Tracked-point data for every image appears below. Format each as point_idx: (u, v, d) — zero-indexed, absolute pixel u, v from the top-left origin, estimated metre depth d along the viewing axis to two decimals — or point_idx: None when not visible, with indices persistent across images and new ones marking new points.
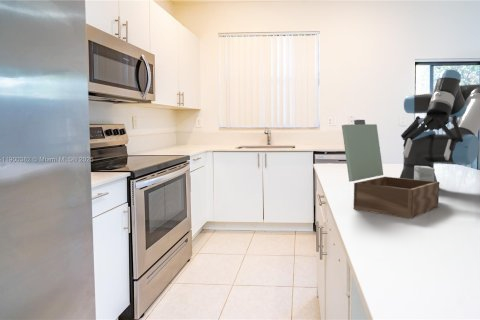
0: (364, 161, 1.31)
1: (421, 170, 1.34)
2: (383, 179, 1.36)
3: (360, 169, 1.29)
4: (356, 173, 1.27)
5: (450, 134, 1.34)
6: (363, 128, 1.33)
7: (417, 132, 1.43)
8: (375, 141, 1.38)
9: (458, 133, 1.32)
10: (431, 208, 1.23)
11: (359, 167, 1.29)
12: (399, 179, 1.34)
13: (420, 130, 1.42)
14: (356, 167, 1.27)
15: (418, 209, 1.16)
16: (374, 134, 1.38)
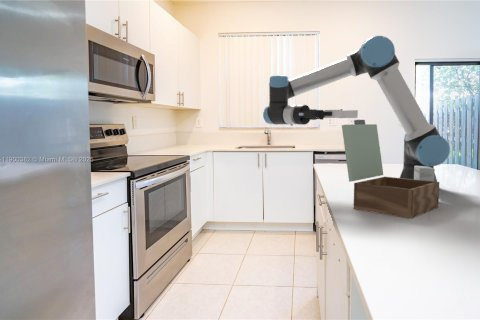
0: (364, 161, 1.31)
1: (421, 170, 1.34)
2: (383, 179, 1.36)
3: (360, 169, 1.29)
4: (356, 173, 1.27)
5: (319, 117, 1.41)
6: (363, 128, 1.33)
7: None
8: (375, 141, 1.38)
9: (314, 117, 1.39)
10: (431, 208, 1.23)
11: (359, 167, 1.29)
12: (399, 179, 1.34)
13: None
14: (356, 167, 1.27)
15: (418, 209, 1.16)
16: (374, 134, 1.38)
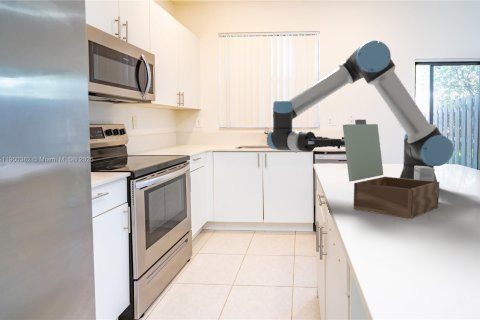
0: (364, 161, 1.31)
1: (421, 170, 1.34)
2: (383, 179, 1.36)
3: (360, 169, 1.29)
4: (356, 173, 1.27)
5: None
6: (364, 128, 1.33)
7: None
8: (376, 141, 1.38)
9: (330, 146, 1.37)
10: (431, 208, 1.23)
11: (359, 167, 1.29)
12: (399, 179, 1.34)
13: None
14: (356, 167, 1.27)
15: (418, 209, 1.16)
16: (375, 134, 1.38)
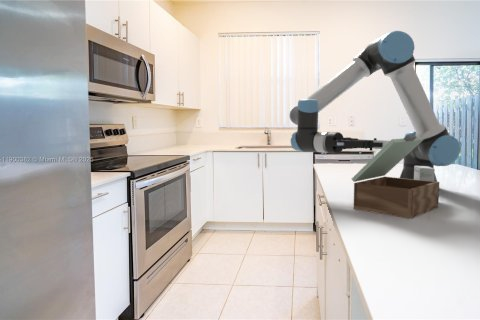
0: (379, 167, 1.28)
1: (421, 170, 1.34)
2: (383, 179, 1.36)
3: (369, 173, 1.27)
4: (363, 176, 1.25)
5: None
6: (407, 144, 1.23)
7: None
8: (406, 152, 1.31)
9: None
10: (431, 208, 1.23)
11: (370, 172, 1.26)
12: (399, 179, 1.34)
13: None
14: (367, 172, 1.25)
15: (418, 209, 1.16)
16: (411, 147, 1.29)
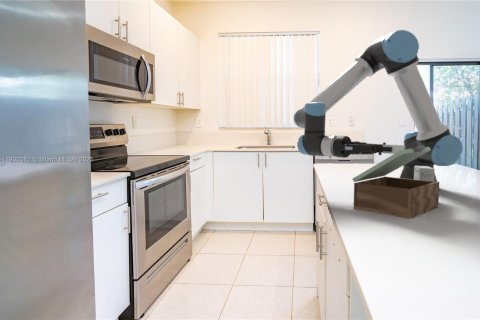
0: (382, 171, 1.27)
1: (421, 170, 1.34)
2: (383, 179, 1.36)
3: (371, 175, 1.26)
4: (364, 178, 1.25)
5: None
6: (415, 153, 1.22)
7: None
8: (412, 159, 1.30)
9: (370, 152, 1.27)
10: (431, 208, 1.23)
11: (372, 174, 1.26)
12: (399, 179, 1.34)
13: None
14: (369, 175, 1.24)
15: (418, 209, 1.16)
16: (418, 155, 1.28)
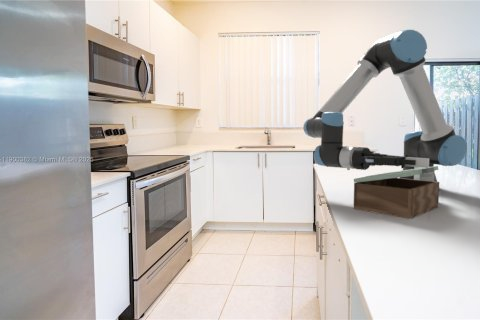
0: None
1: None
2: (383, 179, 1.36)
3: None
4: None
5: None
6: None
7: None
8: None
9: (392, 165, 1.22)
10: (431, 208, 1.23)
11: None
12: (399, 179, 1.34)
13: None
14: None
15: (418, 209, 1.16)
16: None
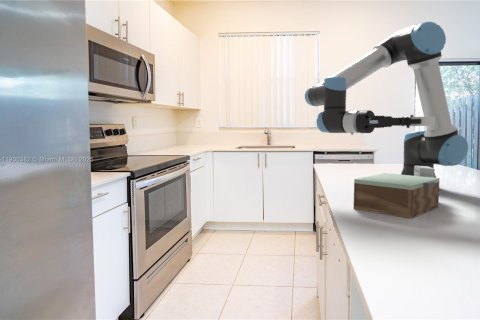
0: None
1: (421, 170, 1.34)
2: None
3: None
4: None
5: None
6: None
7: None
8: None
9: (397, 125, 1.20)
10: (431, 208, 1.23)
11: None
12: None
13: None
14: None
15: (418, 209, 1.16)
16: None
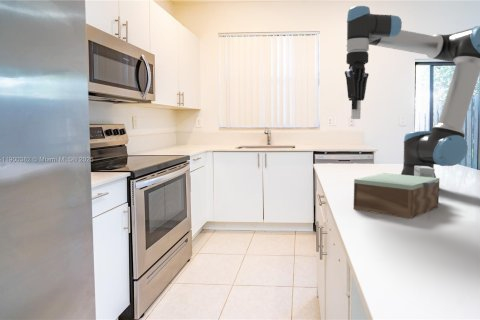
0: None
1: (421, 170, 1.34)
2: None
3: None
4: None
5: None
6: None
7: None
8: None
9: None
10: (431, 208, 1.23)
11: None
12: None
13: None
14: None
15: (418, 209, 1.16)
16: None
